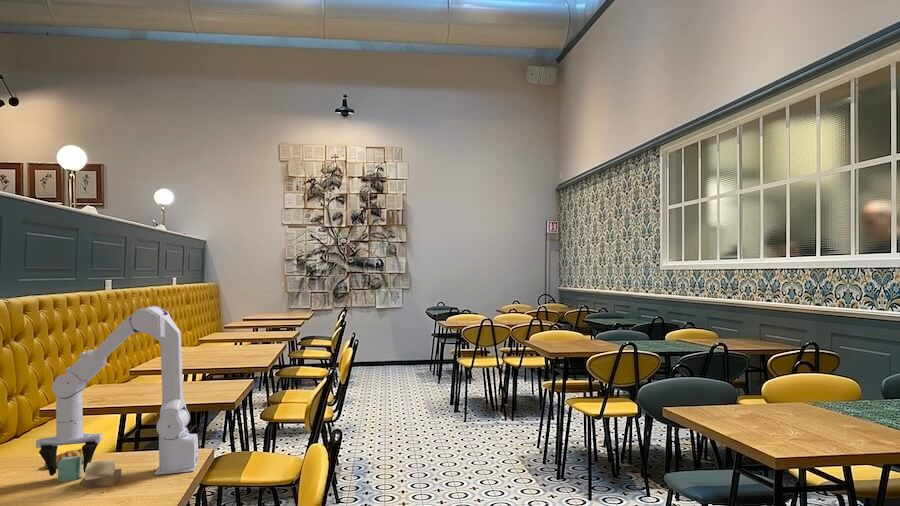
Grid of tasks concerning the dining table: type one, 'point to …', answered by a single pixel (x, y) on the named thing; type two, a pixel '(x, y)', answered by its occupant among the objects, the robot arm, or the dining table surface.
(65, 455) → the pastry
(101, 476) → the tower top
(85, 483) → the tower base
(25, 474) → the dining table surface
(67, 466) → the teal block
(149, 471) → the dining table surface
